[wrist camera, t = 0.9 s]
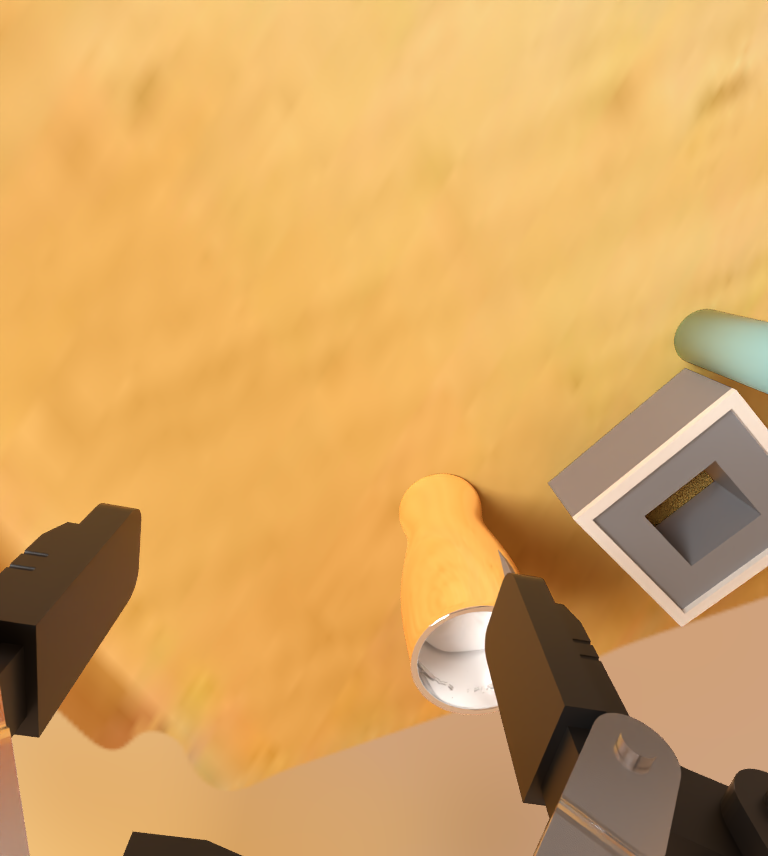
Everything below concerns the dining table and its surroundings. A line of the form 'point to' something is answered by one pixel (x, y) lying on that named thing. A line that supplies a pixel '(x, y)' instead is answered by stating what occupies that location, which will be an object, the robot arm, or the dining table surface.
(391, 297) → the dining table surface
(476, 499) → the tumbler
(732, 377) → the plug
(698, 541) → the socket block
